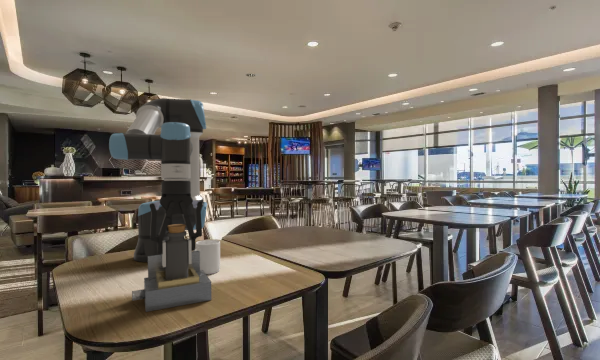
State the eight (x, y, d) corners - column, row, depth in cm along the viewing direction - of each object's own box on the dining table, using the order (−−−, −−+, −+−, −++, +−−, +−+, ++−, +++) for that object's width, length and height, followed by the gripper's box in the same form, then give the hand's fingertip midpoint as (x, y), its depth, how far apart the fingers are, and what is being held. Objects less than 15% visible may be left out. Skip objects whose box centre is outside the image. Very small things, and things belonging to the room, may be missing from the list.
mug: (198, 279, 104) (198, 247, 104) (181, 275, 108) (181, 245, 108) (225, 270, 114) (225, 241, 114) (208, 266, 118) (208, 238, 118)
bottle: (182, 275, 92) (182, 223, 92) (192, 279, 88) (191, 225, 88) (162, 279, 88) (161, 225, 88) (170, 284, 84) (170, 227, 84)
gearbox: (132, 297, 88) (131, 257, 88) (202, 286, 97) (202, 250, 97) (132, 314, 78) (131, 269, 78) (211, 300, 87) (211, 259, 86)
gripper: (137, 180, 80) (138, 272, 80) (214, 179, 89) (214, 263, 89) (137, 180, 87) (138, 265, 87) (208, 179, 95) (209, 257, 96)
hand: (176, 264), depth 88 cm, fingers closed on bottle, 6 cm apart
